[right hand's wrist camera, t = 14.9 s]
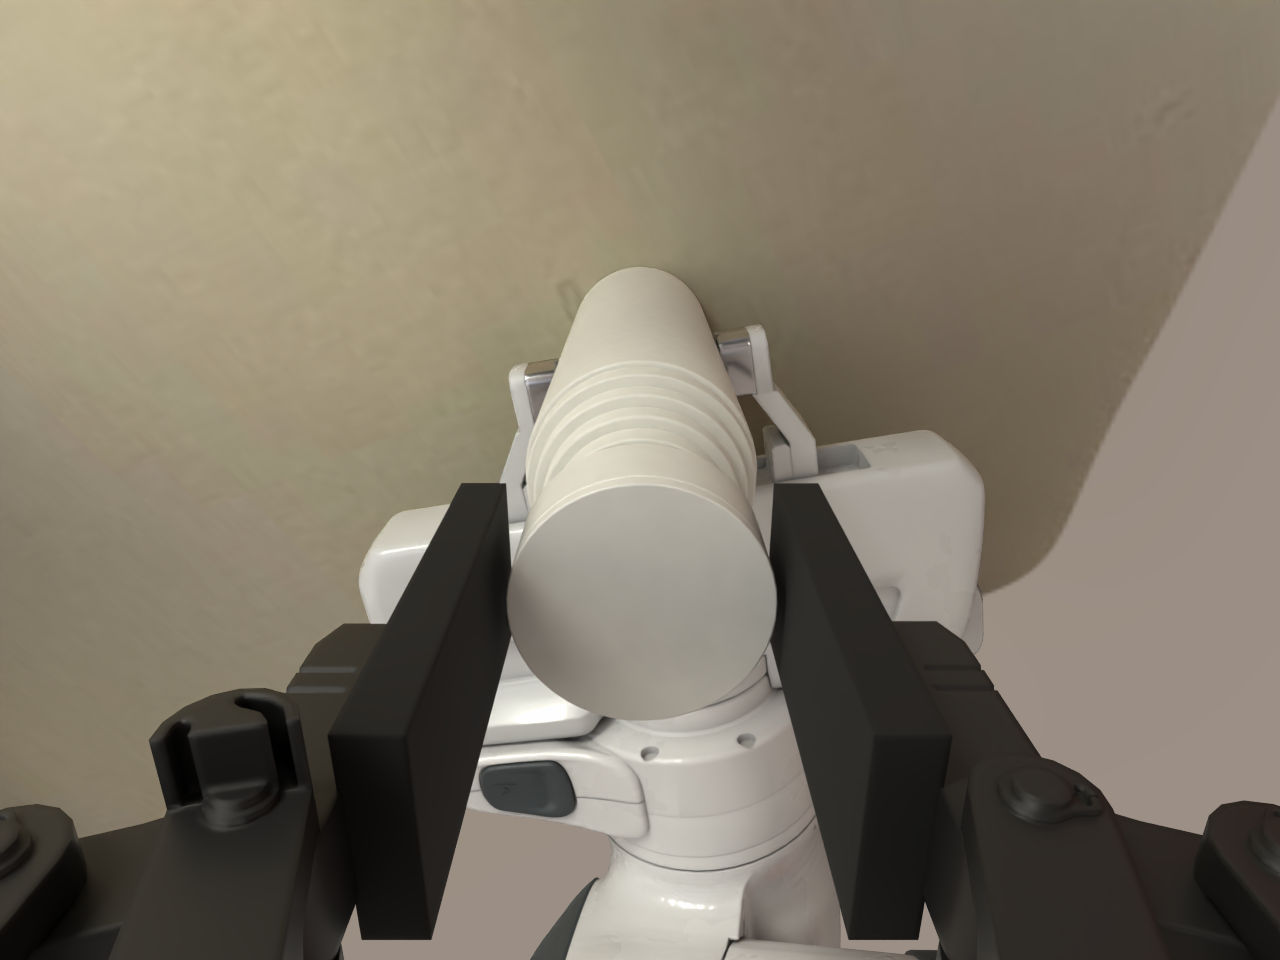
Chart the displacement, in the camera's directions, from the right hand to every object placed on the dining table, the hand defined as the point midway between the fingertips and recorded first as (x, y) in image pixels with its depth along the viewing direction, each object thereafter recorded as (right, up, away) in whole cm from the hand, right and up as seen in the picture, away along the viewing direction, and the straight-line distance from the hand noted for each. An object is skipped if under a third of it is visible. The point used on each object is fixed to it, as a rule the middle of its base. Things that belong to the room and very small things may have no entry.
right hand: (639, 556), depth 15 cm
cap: (0, -1, -1) cm, 2 cm away
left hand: (0, +5, +11) cm, 12 cm away
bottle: (0, +7, +17) cm, 19 cm away
